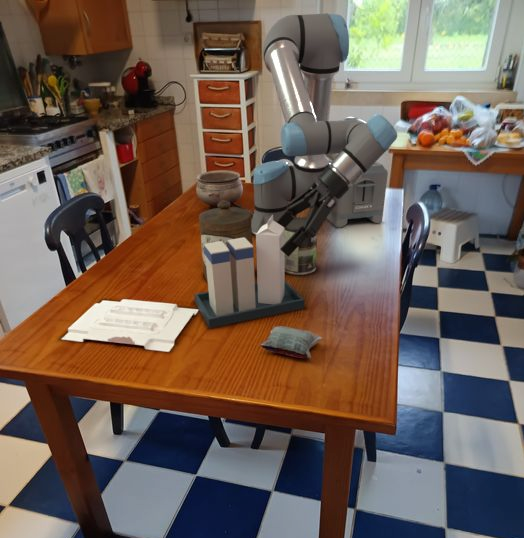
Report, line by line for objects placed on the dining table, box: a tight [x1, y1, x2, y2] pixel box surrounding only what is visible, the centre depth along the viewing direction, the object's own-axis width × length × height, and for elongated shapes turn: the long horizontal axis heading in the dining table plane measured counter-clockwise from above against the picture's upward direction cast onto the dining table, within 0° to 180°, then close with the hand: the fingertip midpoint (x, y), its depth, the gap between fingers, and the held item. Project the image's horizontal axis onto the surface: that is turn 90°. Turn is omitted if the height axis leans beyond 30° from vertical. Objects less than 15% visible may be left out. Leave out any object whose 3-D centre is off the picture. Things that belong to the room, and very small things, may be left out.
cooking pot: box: [195, 169, 244, 209], centre depth 198 cm, size 25×19×12 cm
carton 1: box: [204, 241, 234, 316], centre depth 121 cm, size 7×5×17 cm
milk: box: [255, 215, 286, 304], centre depth 124 cm, size 6×6×22 cm
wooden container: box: [198, 200, 254, 281], centre depth 138 cm, size 15×15×22 cm
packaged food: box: [259, 325, 323, 359], centre depth 109 cm, size 9×12×5 cm
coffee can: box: [285, 216, 318, 276], centre depth 143 cm, size 10×10×14 cm
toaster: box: [325, 153, 389, 229], centre depth 182 cm, size 19×33×20 cm, turn 14°
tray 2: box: [61, 298, 199, 353], centre depth 121 cm, size 20×28×4 cm
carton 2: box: [227, 237, 256, 311], centre depth 123 cm, size 7×5×17 cm
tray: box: [193, 279, 306, 329], centre depth 127 cm, size 15×26×3 cm, turn 111°
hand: (278, 242), depth 121 cm, fingers open, 13 cm apart
